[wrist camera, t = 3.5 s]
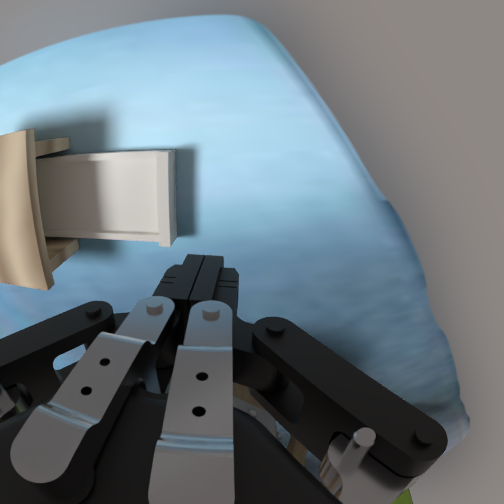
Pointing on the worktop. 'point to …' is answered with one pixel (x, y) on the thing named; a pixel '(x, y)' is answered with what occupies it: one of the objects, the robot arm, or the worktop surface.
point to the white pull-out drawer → (110, 195)
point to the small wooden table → (27, 214)
